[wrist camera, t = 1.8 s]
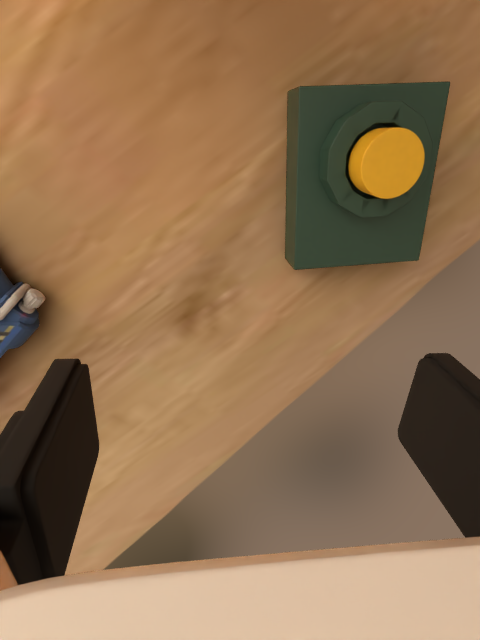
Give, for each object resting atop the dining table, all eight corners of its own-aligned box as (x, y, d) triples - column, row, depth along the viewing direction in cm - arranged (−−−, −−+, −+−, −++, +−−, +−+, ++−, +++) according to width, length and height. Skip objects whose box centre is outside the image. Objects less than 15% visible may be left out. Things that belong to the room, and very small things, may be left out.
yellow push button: (350, 129, 24) (364, 128, 22) (411, 126, 24) (430, 126, 22) (345, 195, 26) (357, 200, 24) (402, 192, 26) (419, 197, 24)
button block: (287, 91, 27) (307, 82, 22) (424, 86, 27) (469, 77, 23) (284, 257, 32) (300, 278, 27) (399, 249, 33) (432, 267, 28)
